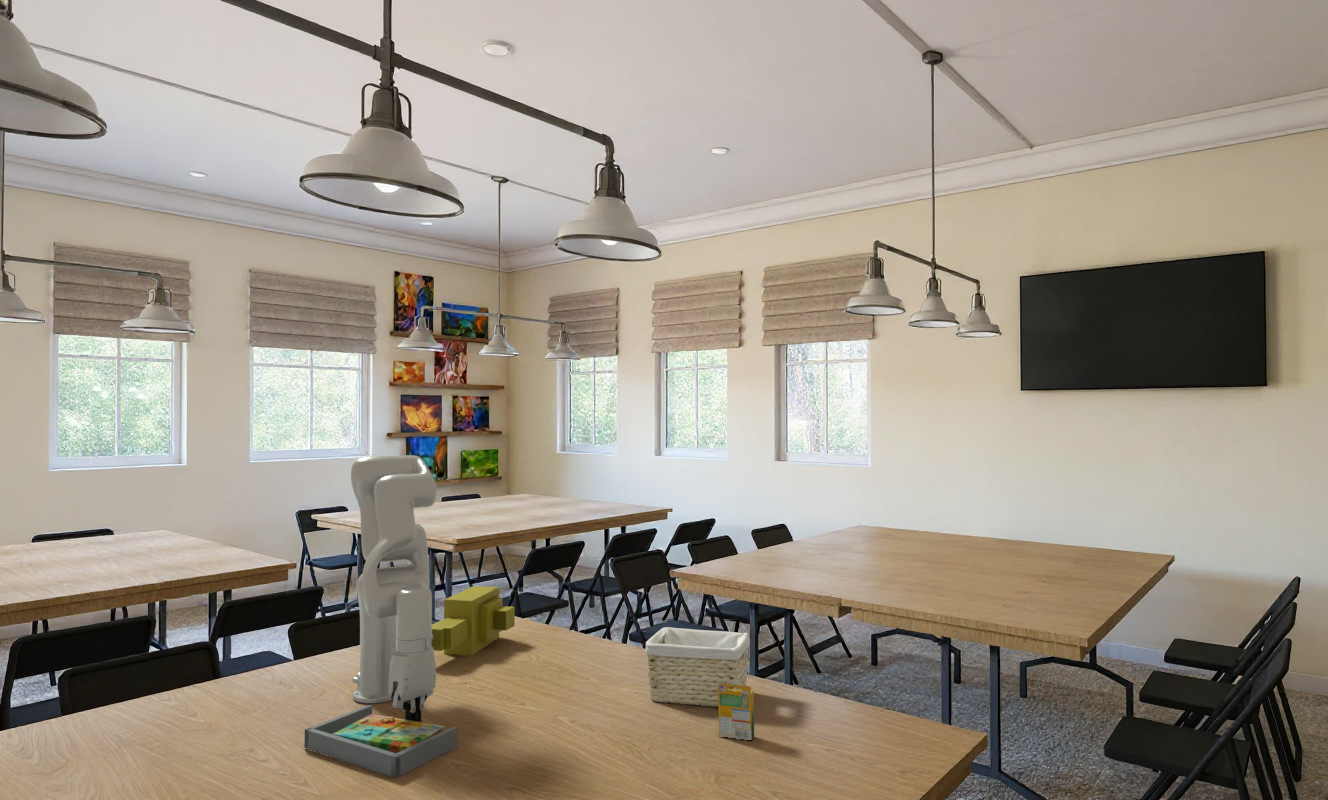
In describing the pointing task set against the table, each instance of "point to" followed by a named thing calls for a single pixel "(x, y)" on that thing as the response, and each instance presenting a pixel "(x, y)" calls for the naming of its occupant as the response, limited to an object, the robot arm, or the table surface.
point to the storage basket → (695, 664)
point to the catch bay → (373, 757)
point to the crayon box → (736, 712)
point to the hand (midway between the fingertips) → (413, 728)
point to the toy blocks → (471, 621)
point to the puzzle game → (389, 732)
